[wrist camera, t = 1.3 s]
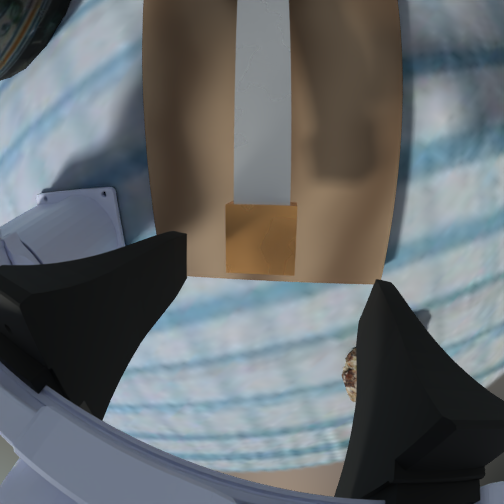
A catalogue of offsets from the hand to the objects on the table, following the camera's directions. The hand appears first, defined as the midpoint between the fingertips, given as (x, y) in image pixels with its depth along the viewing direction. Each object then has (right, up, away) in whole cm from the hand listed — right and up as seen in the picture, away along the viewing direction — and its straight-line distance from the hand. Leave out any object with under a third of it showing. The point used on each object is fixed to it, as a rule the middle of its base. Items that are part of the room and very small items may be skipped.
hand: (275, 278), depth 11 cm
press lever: (0, +9, +2) cm, 9 cm away
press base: (0, +10, +7) cm, 12 cm away
